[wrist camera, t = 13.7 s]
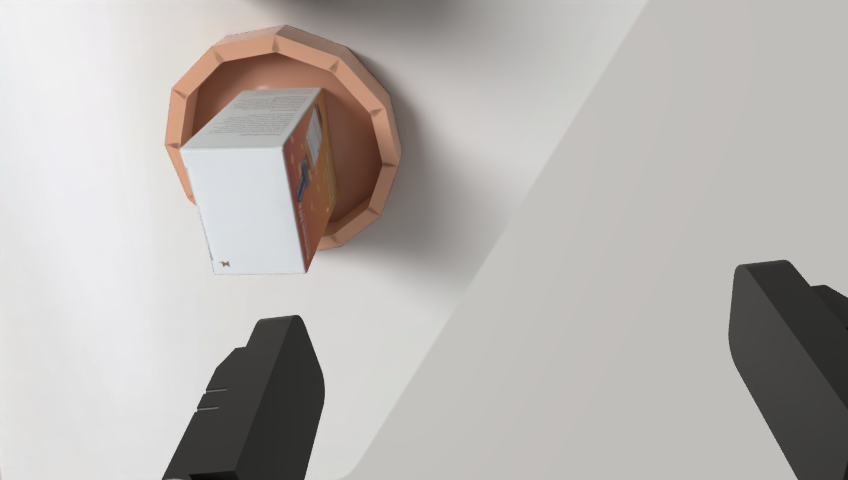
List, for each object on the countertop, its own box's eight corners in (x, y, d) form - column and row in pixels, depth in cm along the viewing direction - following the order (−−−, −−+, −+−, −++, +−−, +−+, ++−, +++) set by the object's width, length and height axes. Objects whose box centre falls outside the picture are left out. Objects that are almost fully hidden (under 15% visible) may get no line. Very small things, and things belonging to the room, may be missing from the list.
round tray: (147, 51, 39) (128, 62, 37) (370, 8, 37) (364, 17, 35) (227, 245, 47) (216, 263, 45) (417, 218, 45) (414, 236, 42)
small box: (340, 194, 43) (308, 278, 34) (264, 196, 44) (212, 279, 35) (325, 84, 39) (284, 146, 30) (241, 87, 40) (176, 149, 30)
